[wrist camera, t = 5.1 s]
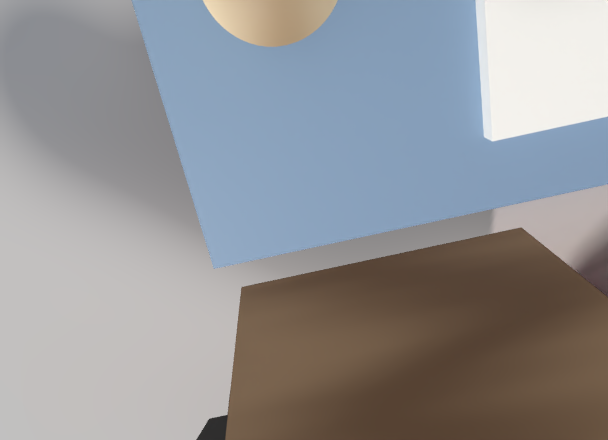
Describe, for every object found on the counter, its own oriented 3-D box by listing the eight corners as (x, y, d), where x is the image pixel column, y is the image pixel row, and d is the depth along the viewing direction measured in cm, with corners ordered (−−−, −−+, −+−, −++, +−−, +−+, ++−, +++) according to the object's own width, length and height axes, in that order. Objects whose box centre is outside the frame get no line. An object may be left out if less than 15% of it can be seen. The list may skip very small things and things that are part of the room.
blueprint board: (659, -182, 21) (701, -204, 19) (638, 168, 27) (668, 179, 25) (118, -63, 21) (103, -72, 19) (216, 258, 27) (212, 277, 25)
